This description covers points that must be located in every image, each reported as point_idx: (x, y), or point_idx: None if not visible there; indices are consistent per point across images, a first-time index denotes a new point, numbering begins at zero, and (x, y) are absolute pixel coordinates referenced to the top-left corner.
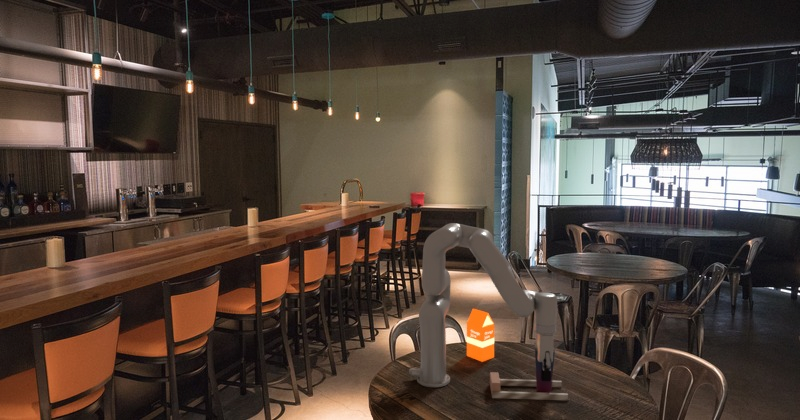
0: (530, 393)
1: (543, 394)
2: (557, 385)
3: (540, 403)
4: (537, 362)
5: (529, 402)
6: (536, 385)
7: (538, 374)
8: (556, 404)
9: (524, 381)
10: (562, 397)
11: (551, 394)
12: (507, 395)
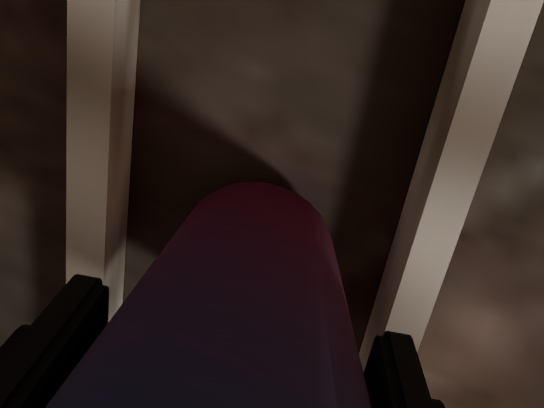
0: (75, 49)
1: (69, 200)
2: None
3: (9, 121)
4: None
5: (19, 3)
6: (403, 220)
7: (148, 294)
8: (5, 260)
9: (459, 93)
10: None
11: (66, 279)
12: None
